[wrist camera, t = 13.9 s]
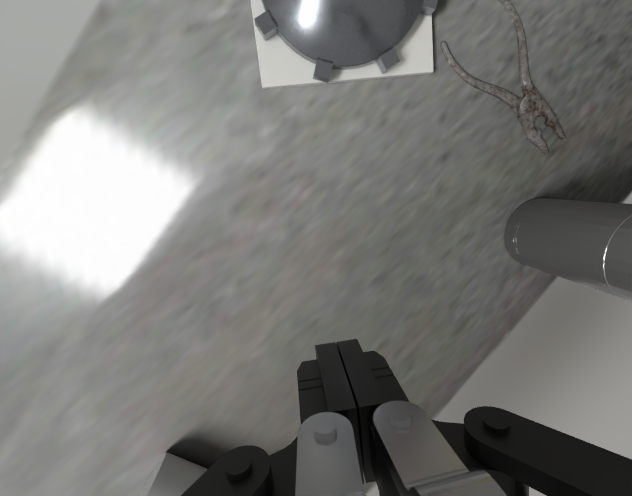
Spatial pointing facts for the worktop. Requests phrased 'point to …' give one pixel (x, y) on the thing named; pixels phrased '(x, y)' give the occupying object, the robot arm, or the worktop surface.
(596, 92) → the worktop surface
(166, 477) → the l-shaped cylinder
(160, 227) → the worktop surface
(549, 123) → the pliers
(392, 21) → the sprocket
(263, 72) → the base plate
